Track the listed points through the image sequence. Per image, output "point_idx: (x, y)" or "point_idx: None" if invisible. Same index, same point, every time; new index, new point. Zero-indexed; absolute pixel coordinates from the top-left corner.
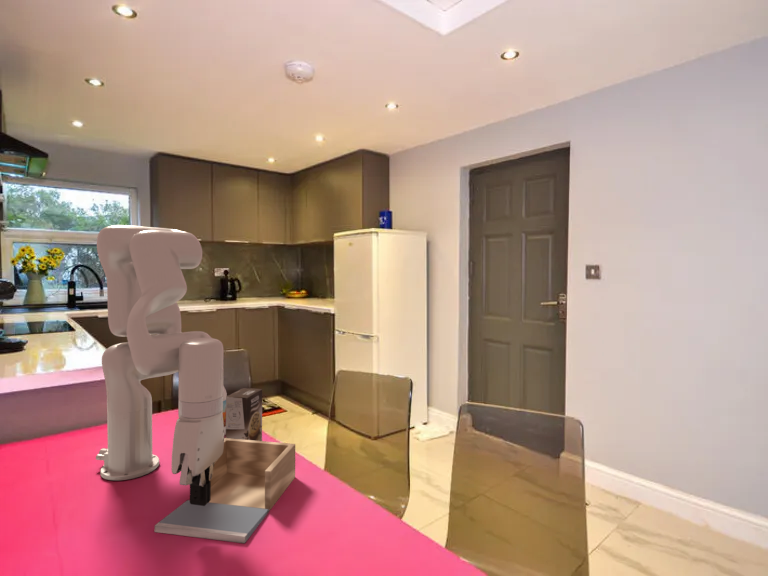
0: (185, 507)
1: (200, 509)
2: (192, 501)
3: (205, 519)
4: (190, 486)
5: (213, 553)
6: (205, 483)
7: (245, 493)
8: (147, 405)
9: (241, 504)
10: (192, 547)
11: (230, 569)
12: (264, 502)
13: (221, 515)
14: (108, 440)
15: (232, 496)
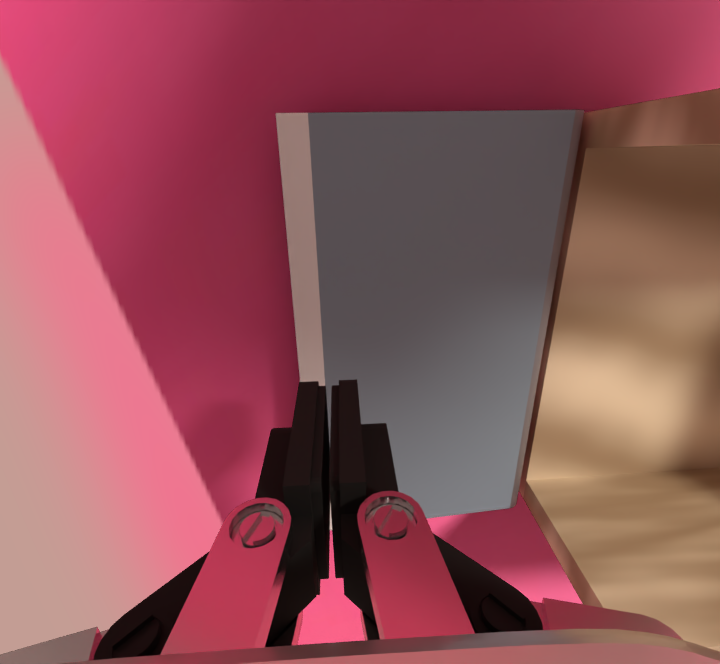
0: (491, 159)
1: (480, 255)
2: (274, 428)
3: (394, 336)
4: (285, 468)
5: (263, 424)
6: (336, 563)
7: (651, 359)
8: None
9: (557, 386)
10: (270, 337)
11: (214, 505)
12: (573, 459)
13: (439, 380)
14: None
15: (627, 316)
